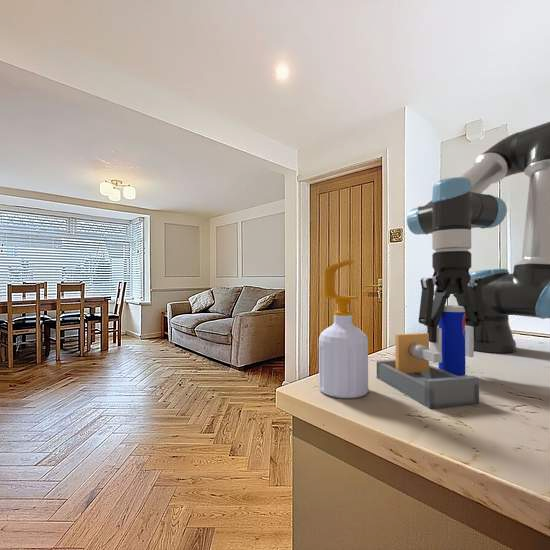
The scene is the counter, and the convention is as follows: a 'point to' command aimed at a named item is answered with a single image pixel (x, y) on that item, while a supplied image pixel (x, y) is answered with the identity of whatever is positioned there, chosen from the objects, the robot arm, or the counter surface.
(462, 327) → the beverage can
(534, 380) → the counter surface
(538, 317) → the robot arm
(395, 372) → the grey tray
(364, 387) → the soap bottle
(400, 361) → the pusher
